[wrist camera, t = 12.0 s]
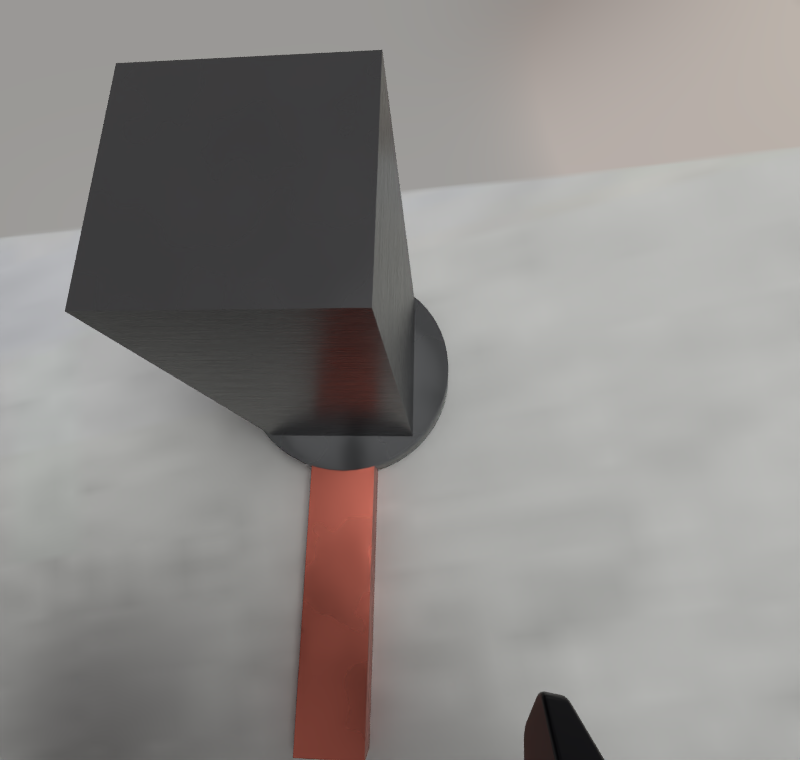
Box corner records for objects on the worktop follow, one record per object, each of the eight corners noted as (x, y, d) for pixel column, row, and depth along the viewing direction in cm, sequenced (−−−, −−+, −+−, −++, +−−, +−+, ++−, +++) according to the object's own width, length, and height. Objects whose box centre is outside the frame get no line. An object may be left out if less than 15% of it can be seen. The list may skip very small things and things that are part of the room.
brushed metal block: (412, 436, 21) (372, 307, 9) (272, 435, 21) (65, 311, 10) (414, 304, 22) (382, 50, 11) (283, 305, 23) (115, 63, 11)
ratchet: (449, 752, 19) (450, 806, 15) (225, 740, 20) (171, 790, 16) (447, 289, 24) (448, 241, 20) (267, 292, 24) (234, 246, 21)
